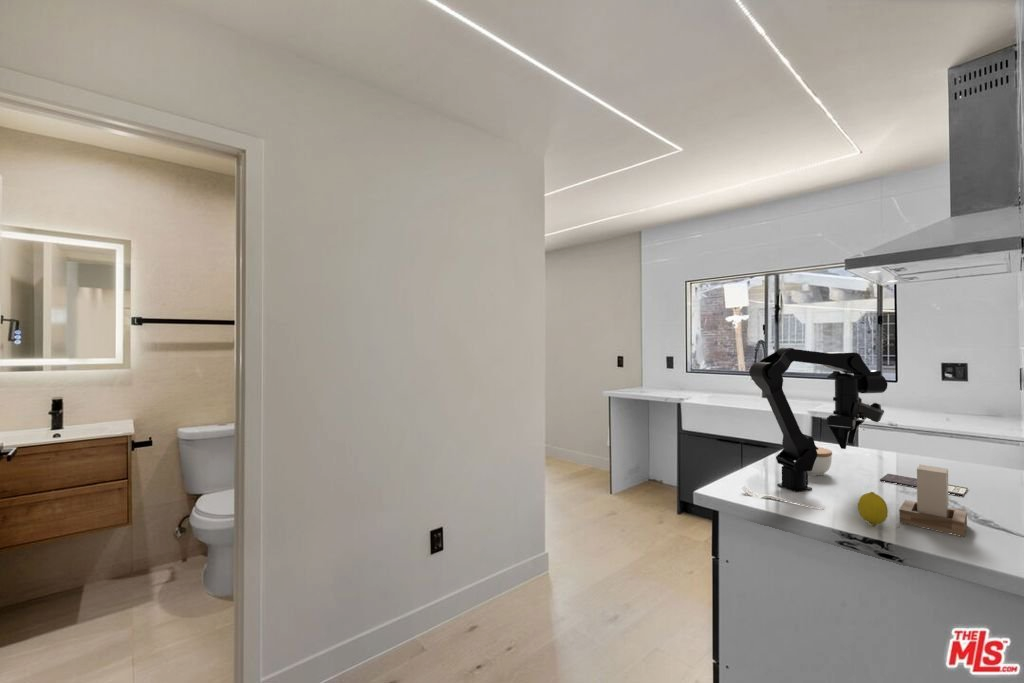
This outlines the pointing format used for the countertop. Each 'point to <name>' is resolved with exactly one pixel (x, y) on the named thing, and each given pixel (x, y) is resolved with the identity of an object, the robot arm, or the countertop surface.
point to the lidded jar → (821, 462)
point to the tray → (934, 519)
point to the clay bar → (932, 490)
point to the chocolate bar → (913, 482)
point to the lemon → (872, 508)
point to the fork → (772, 497)
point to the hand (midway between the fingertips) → (847, 445)
